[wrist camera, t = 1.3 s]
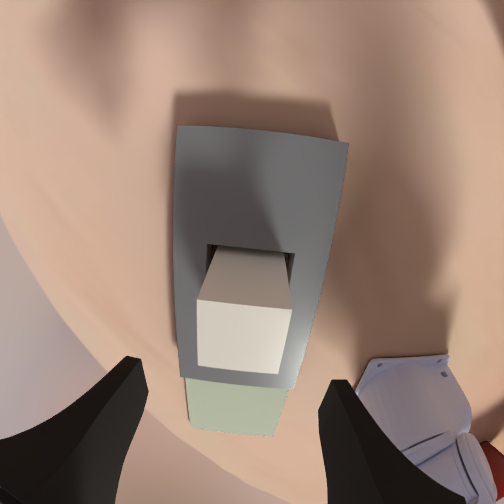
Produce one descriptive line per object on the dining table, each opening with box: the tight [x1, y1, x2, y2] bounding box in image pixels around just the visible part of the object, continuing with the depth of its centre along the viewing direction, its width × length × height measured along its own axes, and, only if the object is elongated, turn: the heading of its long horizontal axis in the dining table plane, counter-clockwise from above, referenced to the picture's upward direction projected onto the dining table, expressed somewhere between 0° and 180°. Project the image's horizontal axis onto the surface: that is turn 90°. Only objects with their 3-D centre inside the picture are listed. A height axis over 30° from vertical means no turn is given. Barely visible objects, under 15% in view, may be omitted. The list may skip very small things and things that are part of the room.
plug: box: [197, 245, 292, 374], centre depth 16 cm, size 4×4×7 cm
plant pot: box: [480, 441, 504, 501], centre depth 29 cm, size 19×19×17 cm
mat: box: [185, 378, 289, 436], centre depth 24 cm, size 9×9×1 cm
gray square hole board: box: [173, 125, 349, 389], centre depth 18 cm, size 9×18×2 cm, turn 174°
